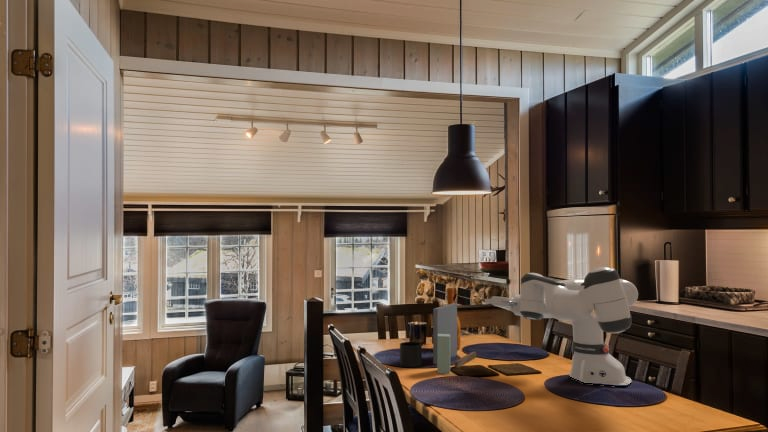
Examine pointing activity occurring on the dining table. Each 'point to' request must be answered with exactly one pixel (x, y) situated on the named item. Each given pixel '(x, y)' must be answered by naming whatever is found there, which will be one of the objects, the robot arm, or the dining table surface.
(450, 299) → the amber bottle
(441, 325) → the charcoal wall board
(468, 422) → the dining table surface
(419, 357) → the mug
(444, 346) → the sage-green cabinet block
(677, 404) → the dining table surface
